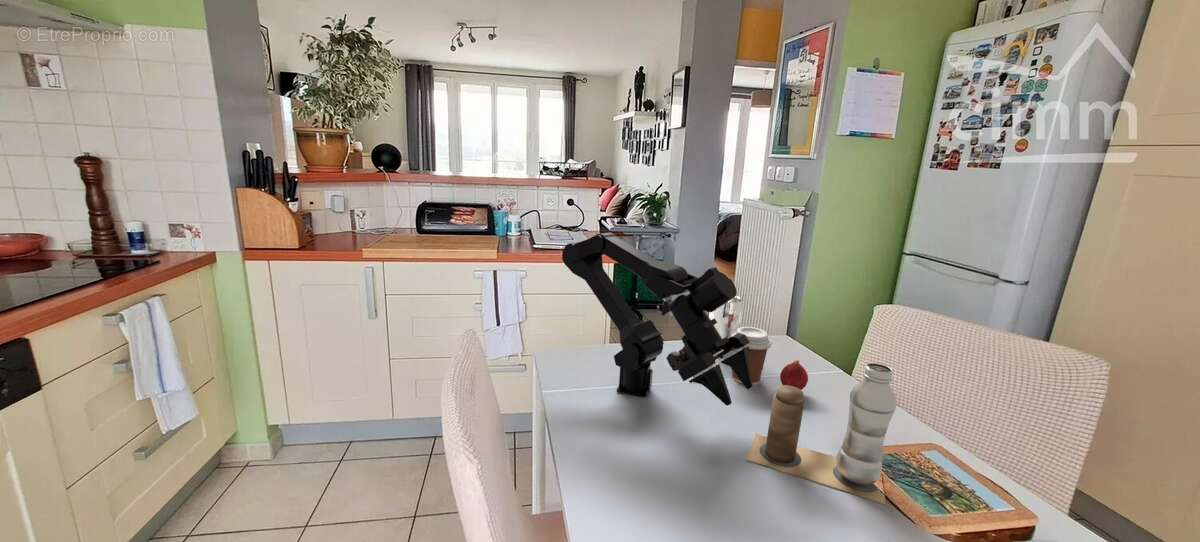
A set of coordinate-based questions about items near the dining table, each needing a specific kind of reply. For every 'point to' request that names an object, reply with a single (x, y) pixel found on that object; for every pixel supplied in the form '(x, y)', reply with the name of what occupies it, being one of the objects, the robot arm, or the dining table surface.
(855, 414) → the plastic bottle
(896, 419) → the dining table surface
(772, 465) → the board
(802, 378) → the onion
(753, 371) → the coffee cup
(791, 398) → the pepper mill
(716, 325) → the white pump bottle
